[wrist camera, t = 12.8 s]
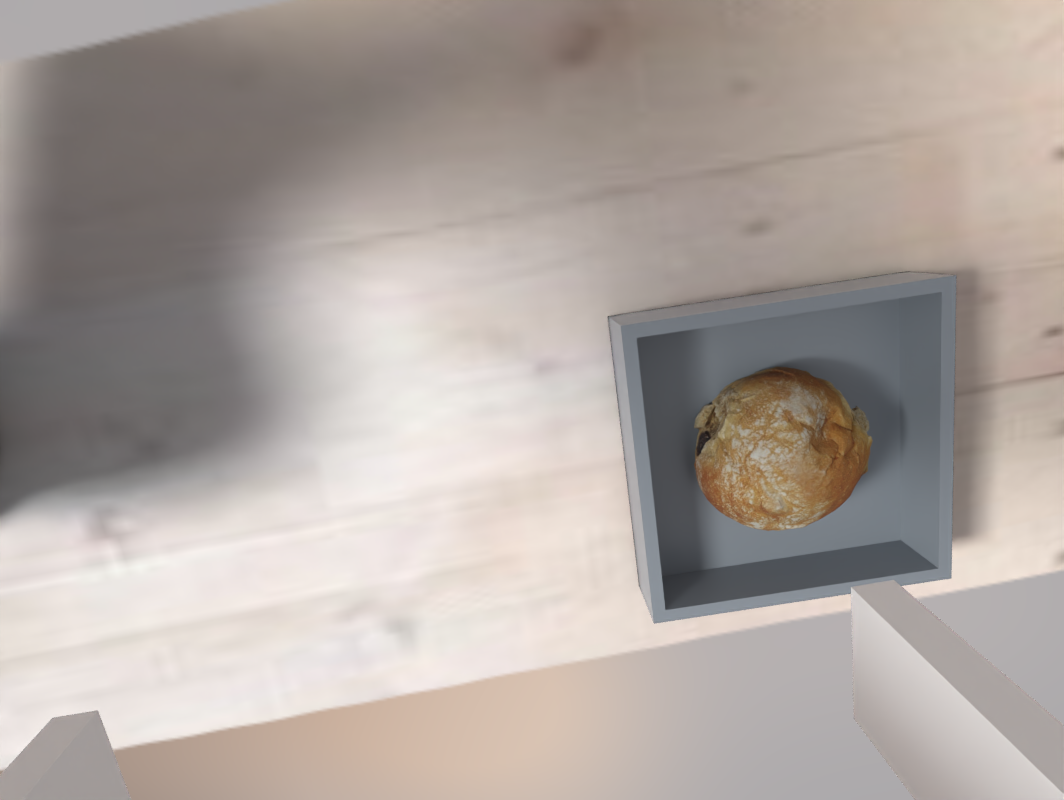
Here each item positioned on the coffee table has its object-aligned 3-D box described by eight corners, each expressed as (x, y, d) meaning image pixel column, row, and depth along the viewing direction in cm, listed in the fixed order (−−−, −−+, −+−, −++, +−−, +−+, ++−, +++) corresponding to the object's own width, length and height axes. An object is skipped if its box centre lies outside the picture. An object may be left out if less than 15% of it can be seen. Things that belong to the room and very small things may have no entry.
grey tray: (639, 585, 44) (653, 623, 40) (607, 316, 39) (620, 325, 35) (907, 544, 44) (951, 578, 40) (906, 271, 39) (956, 275, 35)
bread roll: (714, 350, 43) (694, 366, 36) (883, 373, 39) (900, 397, 32) (692, 488, 46) (670, 529, 38) (851, 522, 42) (860, 575, 35)
